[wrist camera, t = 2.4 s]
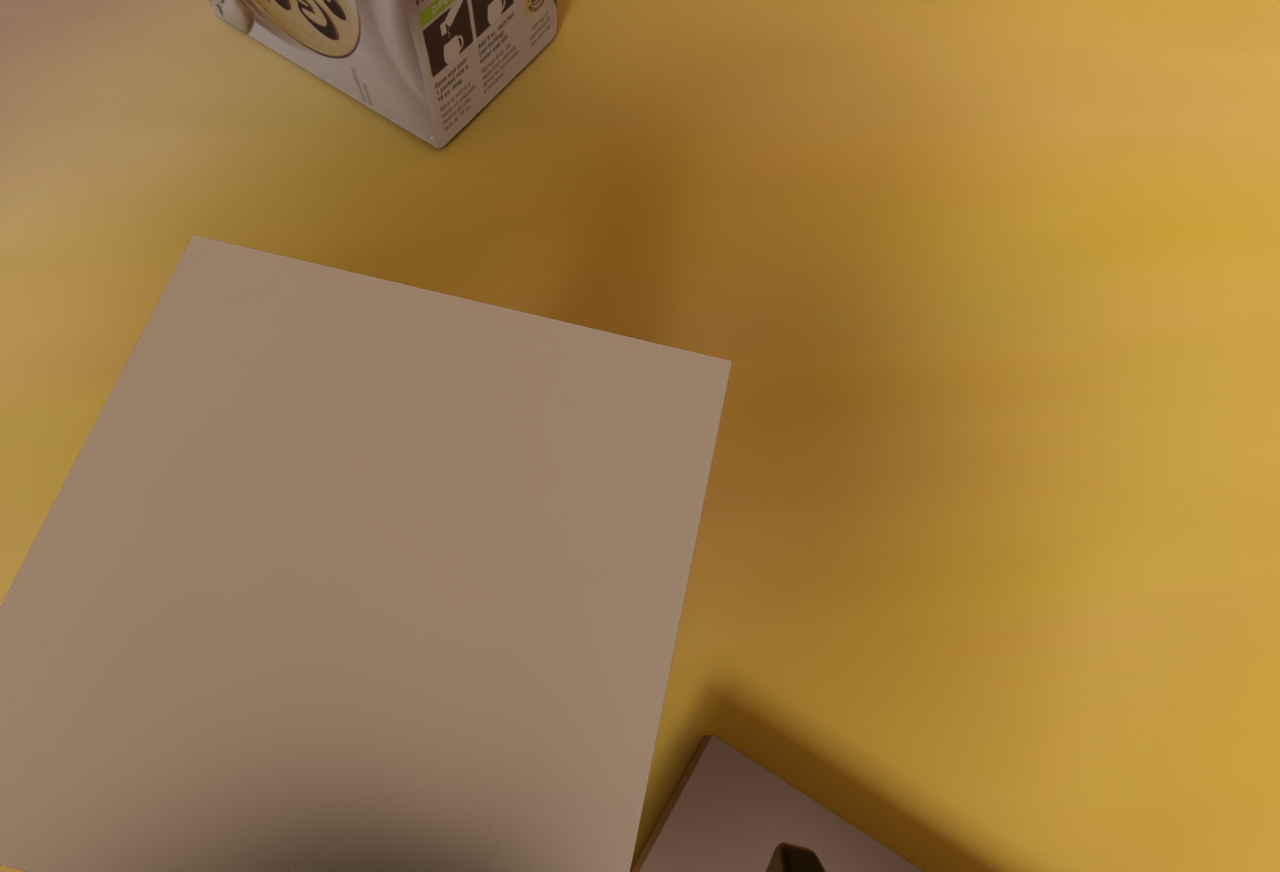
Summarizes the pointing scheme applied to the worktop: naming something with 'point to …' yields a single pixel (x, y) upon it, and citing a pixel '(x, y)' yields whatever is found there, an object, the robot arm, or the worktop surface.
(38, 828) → the aluminium block
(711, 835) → the plate
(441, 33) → the coffee box
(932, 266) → the worktop surface
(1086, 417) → the worktop surface
